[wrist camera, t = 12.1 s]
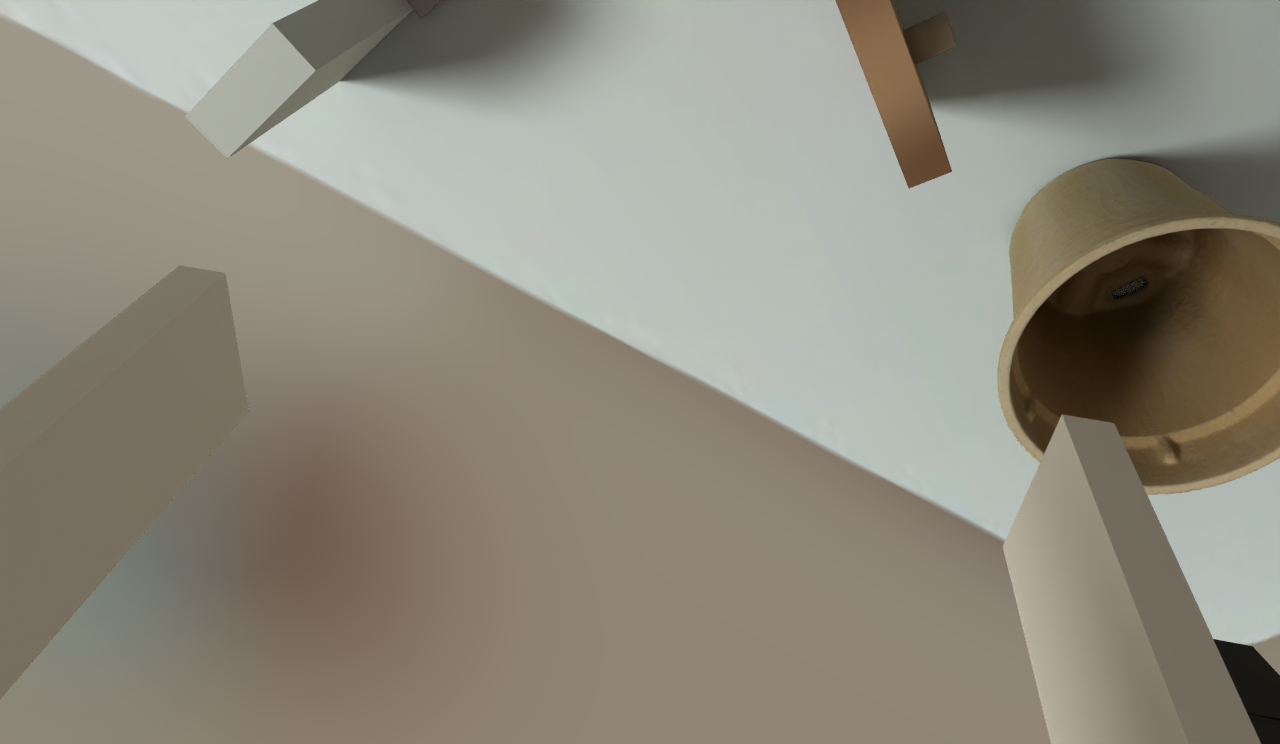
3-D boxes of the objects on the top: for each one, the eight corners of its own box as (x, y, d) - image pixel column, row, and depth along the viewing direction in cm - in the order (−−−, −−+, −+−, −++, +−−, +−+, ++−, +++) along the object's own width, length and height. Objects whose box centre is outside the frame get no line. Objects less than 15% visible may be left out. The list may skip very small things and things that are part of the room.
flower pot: (1106, 389, 37) (1176, 542, 30) (909, 276, 35) (932, 407, 28) (1310, 200, 32) (1454, 329, 24) (1087, 58, 30) (1171, 152, 23)
